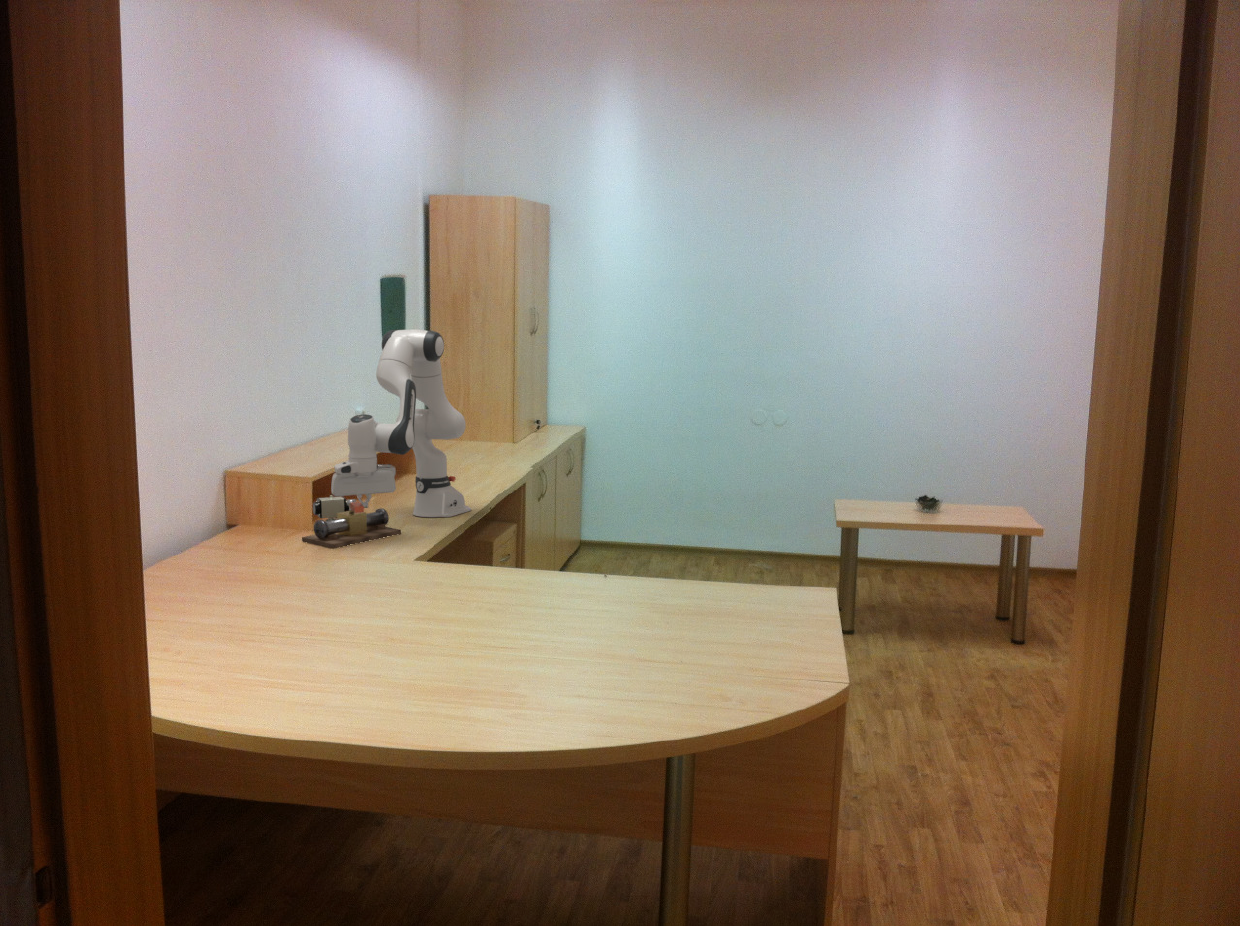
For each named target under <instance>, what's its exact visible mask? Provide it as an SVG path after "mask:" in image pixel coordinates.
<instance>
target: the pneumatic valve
mask: <svg viewBox="0 0 1240 926" xmlns="http://www.w3.org/2000/svg"><path fill="white" fill-rule="evenodd" d="M347 500H348V499H347V498H346V497H345V496H334V495H333V494H331V495H329V497H318V498H317V497H316V501H314V502H313V503H312V510H313V511H312V512H313V515H314V516H317V517H318V518H319V519H325V520H324V521H331V520H336V519H337V513H340V512H346V511H349V506H348V505H347Z"/></svg>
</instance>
